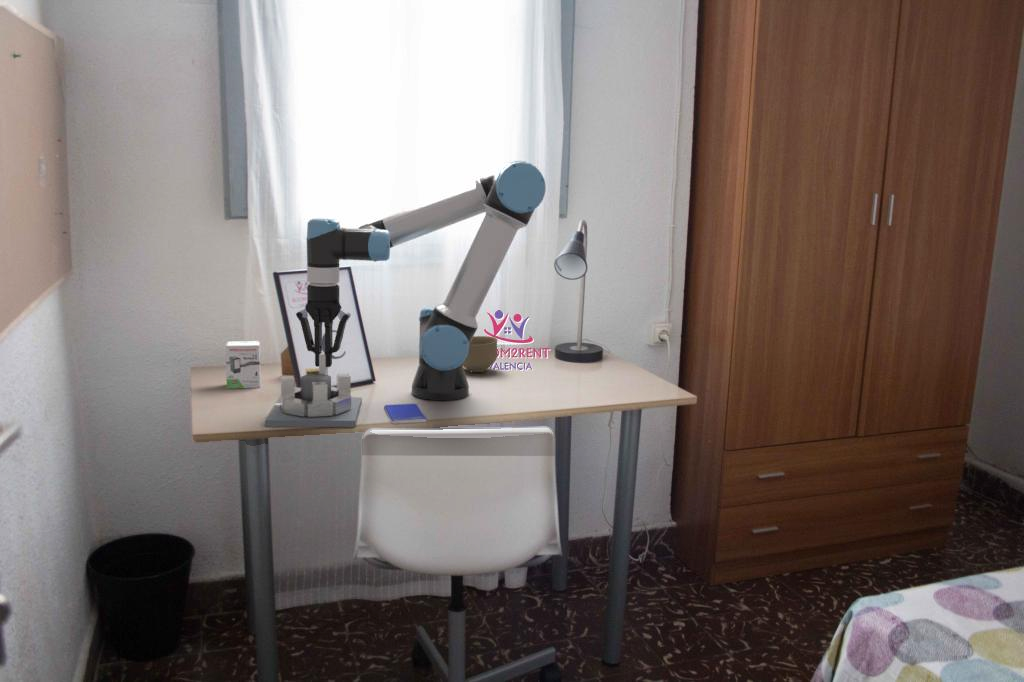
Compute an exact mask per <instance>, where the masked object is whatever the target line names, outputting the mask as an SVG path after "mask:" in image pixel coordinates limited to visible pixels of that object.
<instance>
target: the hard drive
mask: <svg viewBox="0 0 1024 682" xmlns="http://www.w3.org/2000/svg"><path fill="white" fill-rule="evenodd" d="M383 409H384V412H385V413H386V415H387V416H388V419H389V420H390V422H391V423H392V425H395V424H411V423H412V424H413V423H427V422H428V421H427V417H426V415H425V414H424V413H423V411H422V410H421V408H420V407H419V406H418V404H416V403H403V404H402V403H401V404H399V403H398V404H385V405H384V408H383Z"/></svg>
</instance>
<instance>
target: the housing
mask: <svg viewBox="0 0 1024 682" xmlns="http://www.w3.org/2000/svg"><path fill="white" fill-rule="evenodd" d="M323 381H326V383H327V400H329V399H331V387H332V376H331V375H329V374H328V375H324V374H309V375H302V376H301V377H300V387H301V399H302V400H307V401H312V382H323ZM362 399H363V398H362V397H361V396H351V409H350V410H347V411H345V412H342V413H340V414H337V415H334V414H333V416H317V417H308V416H305V417H302V416H297V415H292V414H287V413H285V412H283V411H282V407H281V395H280V396H279V398H278V399H277V401H276V403H275V404H274V405H273V406H272V408H271V411H270V412H269V413H268V414H267V417H266V418H265V424H264V425H265V427H269V428H270V427H275V428H276V427H277V428H279V427H280V428H281V427H289V428H290V427H292V428H293V427H296V428H298V427H299V428H302V427H303V428H306V427H307V428H355V427H356V426H357V422H358V419H359V414H360V409H361V406H362V403H363V401H362Z"/></svg>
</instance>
